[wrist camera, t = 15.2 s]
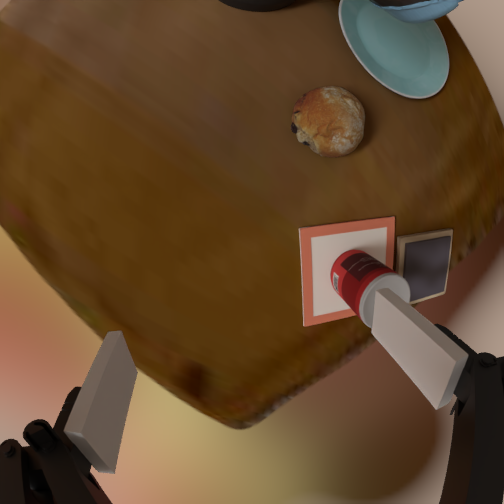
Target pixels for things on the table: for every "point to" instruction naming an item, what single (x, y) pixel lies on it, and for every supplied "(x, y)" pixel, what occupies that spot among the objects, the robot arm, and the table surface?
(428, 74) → the plate
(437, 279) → the ink pad
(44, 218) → the table surface
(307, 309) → the print sheet
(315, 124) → the bread roll
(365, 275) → the canned food
